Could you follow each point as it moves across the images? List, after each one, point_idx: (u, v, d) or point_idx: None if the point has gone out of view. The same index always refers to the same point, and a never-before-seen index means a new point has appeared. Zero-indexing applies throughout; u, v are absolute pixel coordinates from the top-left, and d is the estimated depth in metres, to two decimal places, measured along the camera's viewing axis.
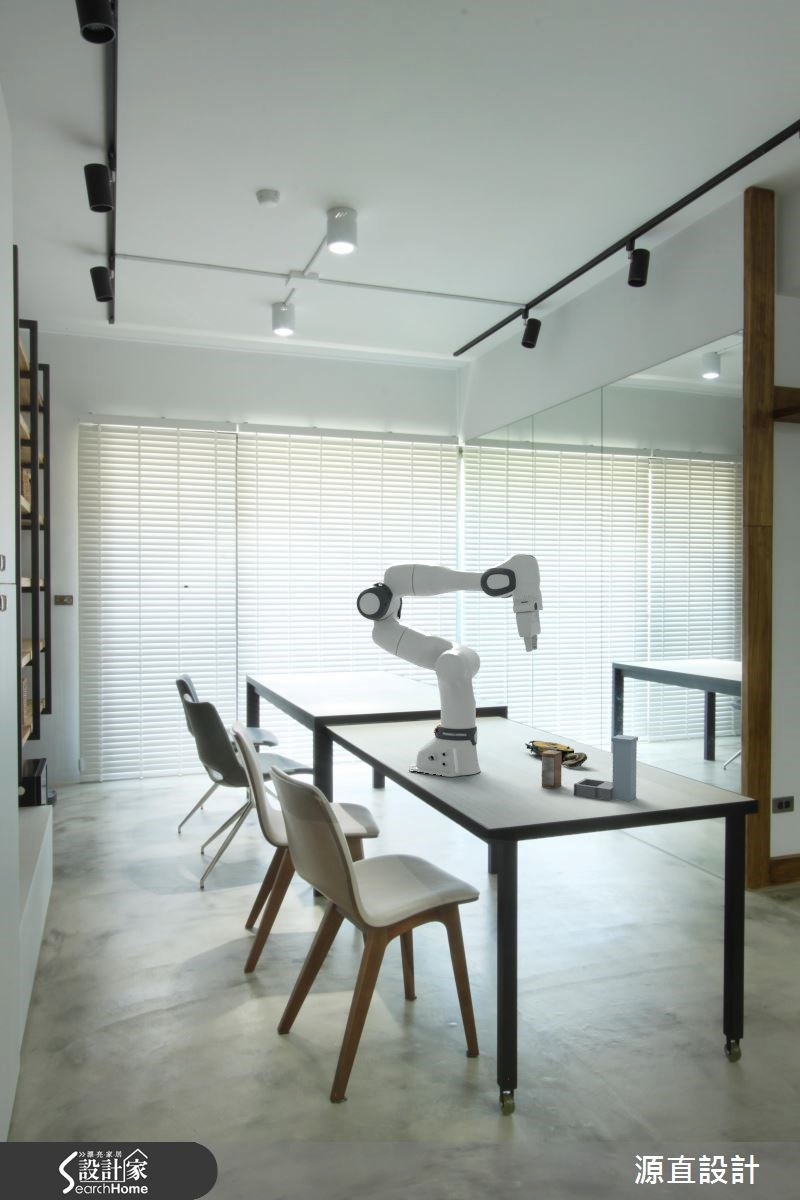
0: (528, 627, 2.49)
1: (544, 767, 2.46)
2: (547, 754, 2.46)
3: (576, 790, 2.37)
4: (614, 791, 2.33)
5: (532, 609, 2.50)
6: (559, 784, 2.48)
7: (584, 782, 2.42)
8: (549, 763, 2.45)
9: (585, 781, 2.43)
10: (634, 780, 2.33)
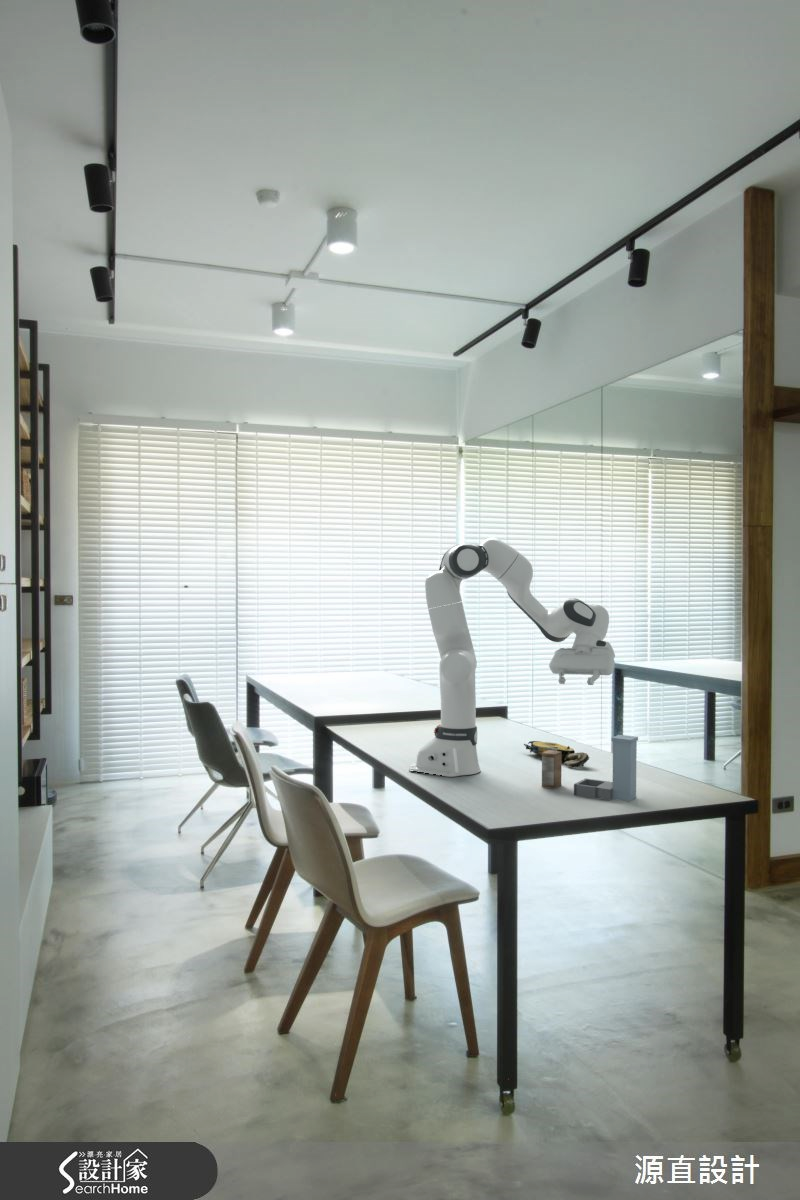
0: (613, 667, 2.59)
1: (544, 767, 2.46)
2: (547, 754, 2.46)
3: (576, 790, 2.37)
4: (614, 791, 2.33)
5: (613, 657, 2.64)
6: (559, 784, 2.48)
7: (584, 782, 2.42)
8: (549, 763, 2.45)
9: (585, 781, 2.43)
10: (634, 780, 2.33)
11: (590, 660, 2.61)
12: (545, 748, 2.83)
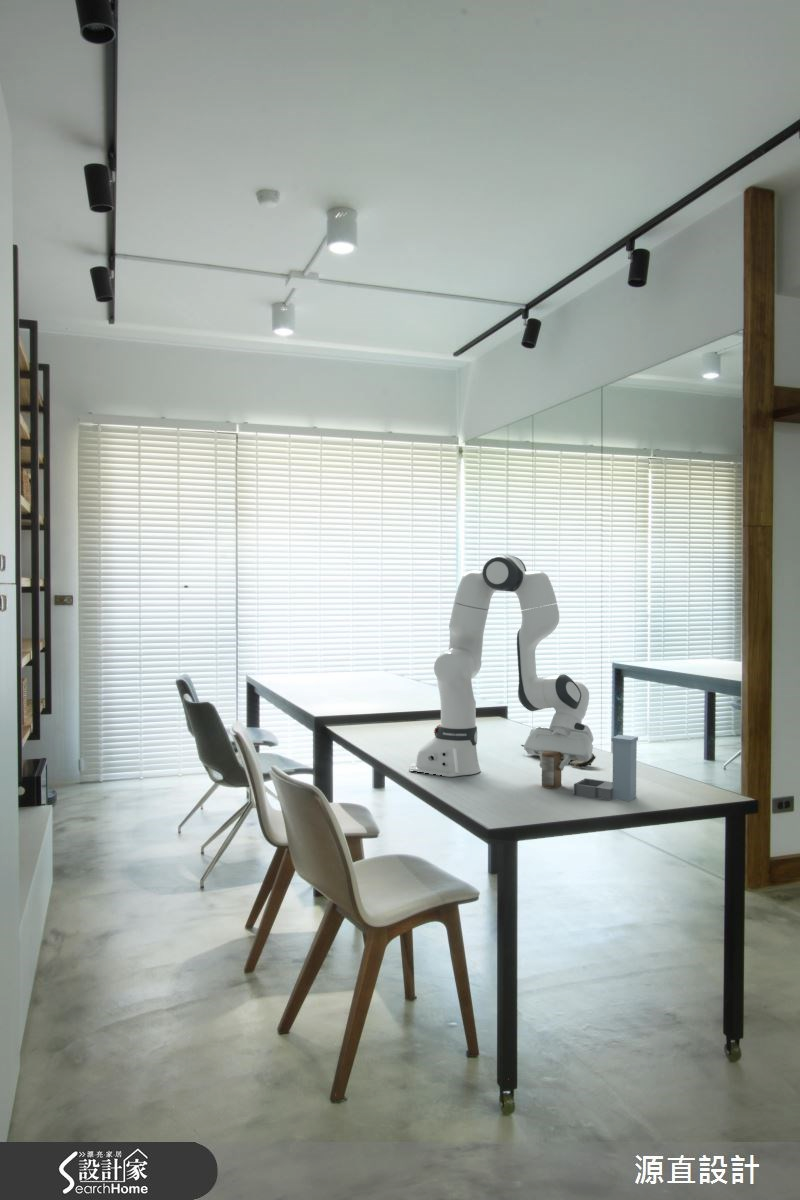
0: (591, 753, 2.47)
1: (544, 767, 2.46)
2: (547, 754, 2.46)
3: (576, 790, 2.37)
4: (614, 791, 2.33)
5: (592, 741, 2.51)
6: (559, 784, 2.48)
7: (584, 782, 2.42)
8: (549, 763, 2.45)
9: (585, 781, 2.43)
10: (634, 780, 2.33)
11: (567, 744, 2.48)
12: None
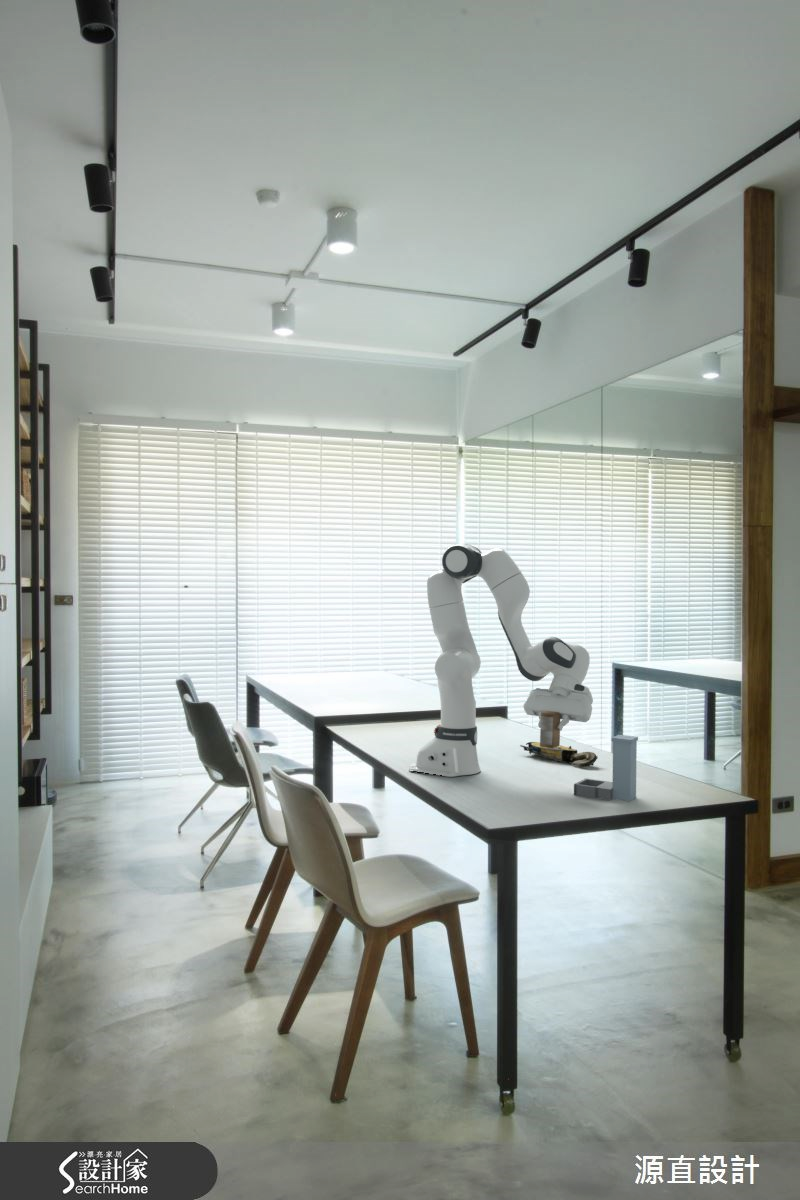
0: (590, 714, 2.46)
1: (543, 727, 2.45)
2: (546, 714, 2.45)
3: (576, 790, 2.37)
4: (614, 791, 2.33)
5: (591, 703, 2.51)
6: (557, 744, 2.47)
7: (584, 782, 2.42)
8: (548, 723, 2.44)
9: (585, 781, 2.43)
10: (634, 780, 2.33)
11: (567, 705, 2.48)
12: (548, 749, 2.82)
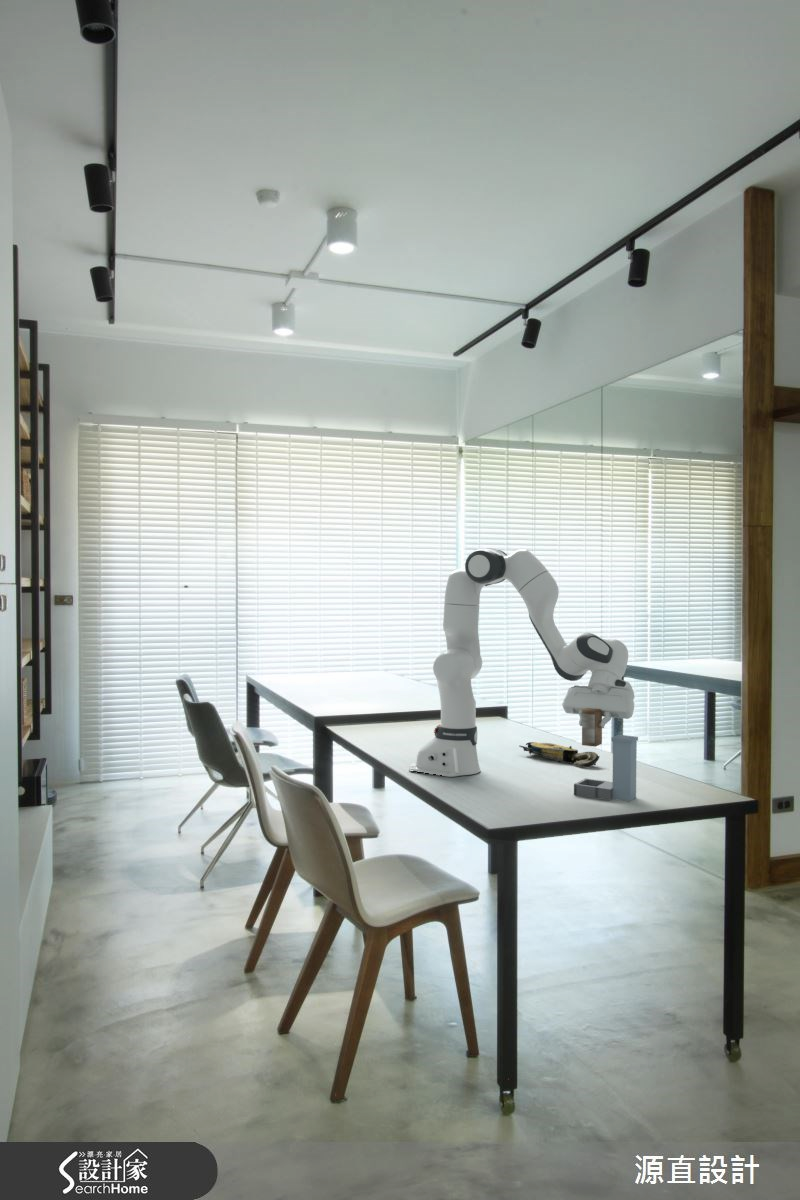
0: (633, 710, 2.38)
1: (585, 724, 2.37)
2: (587, 711, 2.37)
3: (576, 790, 2.37)
4: (614, 791, 2.33)
5: (633, 699, 2.42)
6: (600, 742, 2.39)
7: (584, 782, 2.42)
8: (590, 720, 2.36)
9: (585, 781, 2.43)
10: (634, 780, 2.33)
11: (608, 701, 2.40)
12: (549, 749, 2.81)
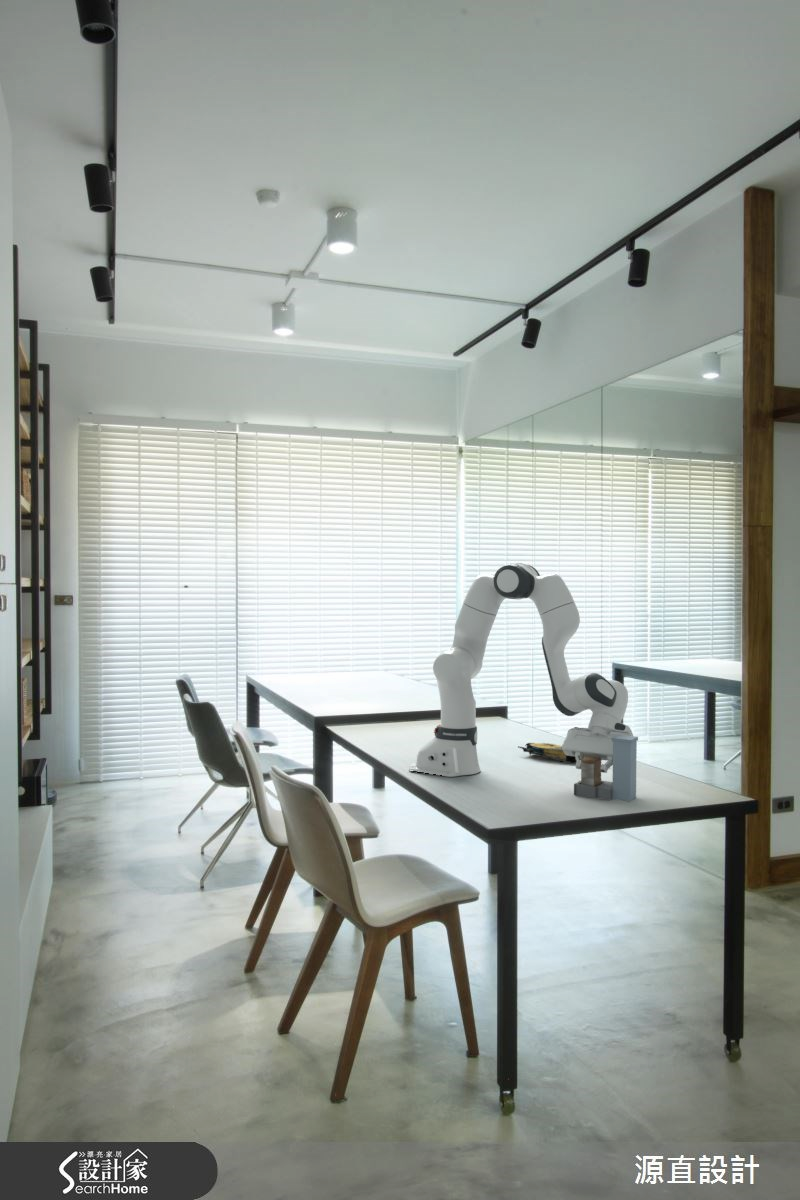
0: None
1: (584, 774, 2.37)
2: (587, 760, 2.37)
3: (576, 790, 2.37)
4: (614, 791, 2.33)
5: None
6: None
7: None
8: (589, 770, 2.36)
9: None
10: (634, 780, 2.33)
11: (608, 745, 2.40)
12: (552, 749, 2.81)
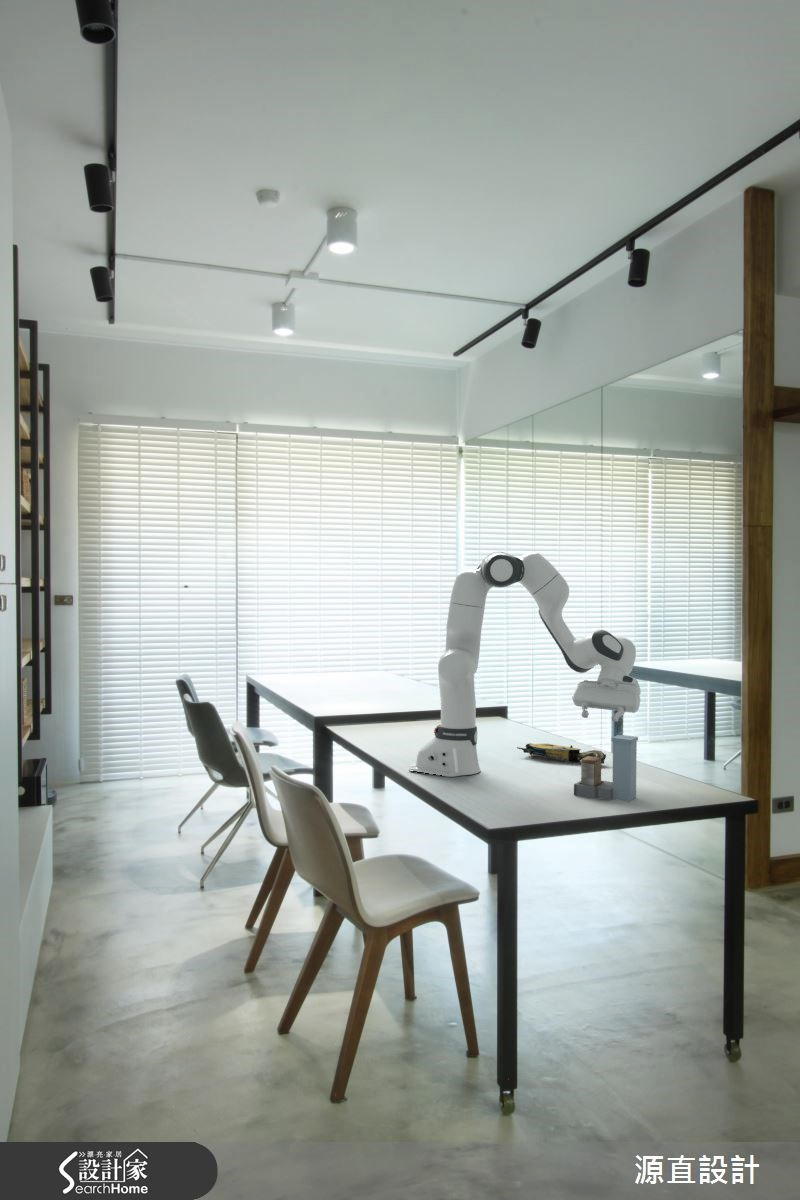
0: (638, 705, 2.52)
1: (584, 774, 2.37)
2: (587, 760, 2.37)
3: (576, 790, 2.37)
4: (614, 791, 2.33)
5: (639, 694, 2.57)
6: None
7: None
8: (589, 770, 2.36)
9: None
10: (634, 780, 2.33)
11: (616, 696, 2.54)
12: (554, 749, 2.80)
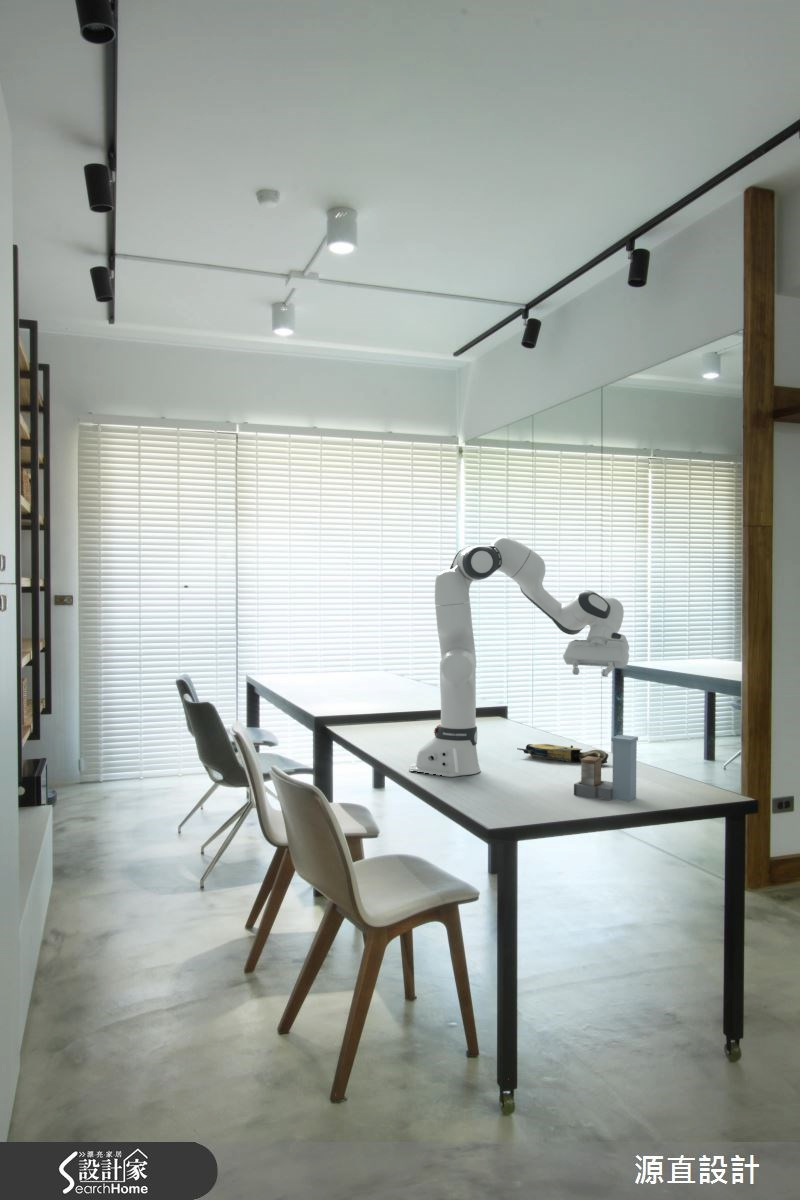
0: (627, 660, 2.60)
1: (584, 774, 2.37)
2: (587, 760, 2.37)
3: (576, 790, 2.37)
4: (614, 791, 2.33)
5: (628, 650, 2.65)
6: None
7: None
8: (589, 770, 2.36)
9: None
10: (634, 780, 2.33)
11: (605, 652, 2.62)
12: (556, 750, 2.80)
